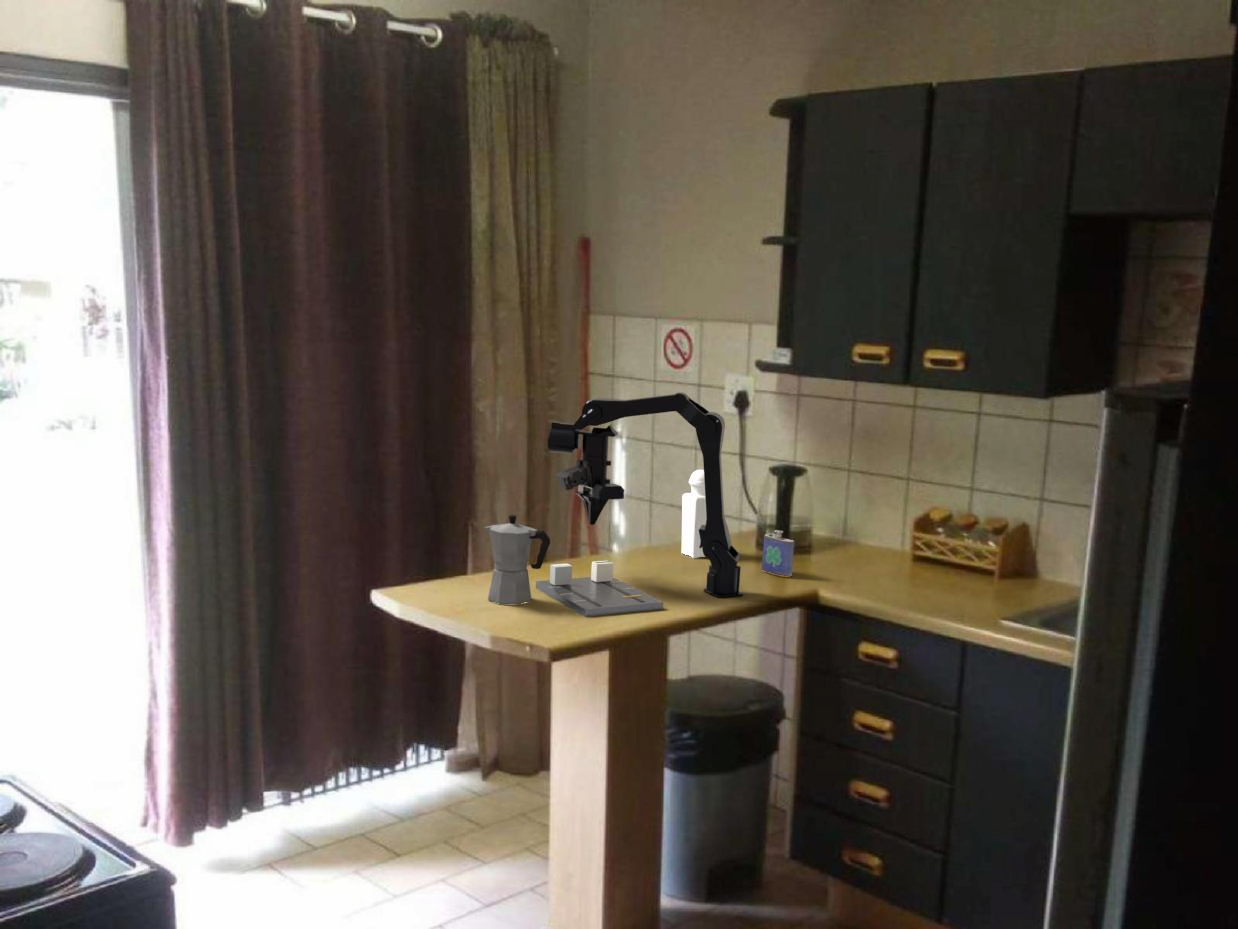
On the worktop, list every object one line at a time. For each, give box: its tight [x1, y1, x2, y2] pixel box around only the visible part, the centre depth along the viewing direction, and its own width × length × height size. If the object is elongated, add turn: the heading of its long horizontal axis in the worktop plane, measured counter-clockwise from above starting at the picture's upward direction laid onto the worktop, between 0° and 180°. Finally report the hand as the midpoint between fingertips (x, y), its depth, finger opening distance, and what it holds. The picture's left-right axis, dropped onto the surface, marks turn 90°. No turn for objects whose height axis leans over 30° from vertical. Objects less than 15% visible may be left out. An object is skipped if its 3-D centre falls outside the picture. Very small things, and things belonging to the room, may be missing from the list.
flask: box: [761, 529, 795, 577], centre depth 273 cm, size 9×3×11 cm, turn 37°
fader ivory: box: [590, 560, 614, 582], centre depth 252 cm, size 4×2×4 cm, turn 118°
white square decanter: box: [680, 469, 707, 559], centre depth 288 cm, size 6×6×22 cm
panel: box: [535, 576, 664, 618], centre depth 243 cm, size 18×24×2 cm
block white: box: [549, 563, 573, 585], centre depth 247 cm, size 4×2×4 cm, turn 118°
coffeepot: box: [483, 514, 551, 605], centre depth 237 cm, size 15×9×18 cm, turn 66°
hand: (591, 524), depth 255 cm, fingers closed
